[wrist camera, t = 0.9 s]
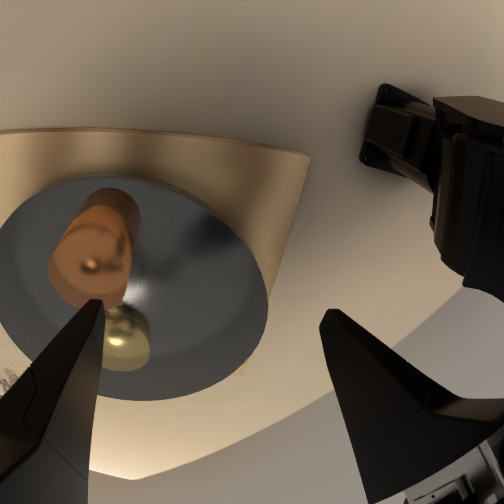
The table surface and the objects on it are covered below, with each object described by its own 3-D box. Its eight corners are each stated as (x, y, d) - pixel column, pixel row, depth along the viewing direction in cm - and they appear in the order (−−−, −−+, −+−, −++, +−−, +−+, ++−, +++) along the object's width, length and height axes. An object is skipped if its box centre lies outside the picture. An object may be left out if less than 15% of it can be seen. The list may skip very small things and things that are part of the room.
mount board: (305, 152, 19) (327, 169, 16) (240, 366, 31) (247, 394, 28) (-14, 132, 13) (-43, 147, 10) (36, 353, 25) (29, 380, 22)
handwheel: (236, 390, 27) (249, 446, 22) (36, 377, 21) (25, 432, 16) (299, 191, 17) (351, 251, 12) (-29, 171, 11) (-91, 221, 6)
